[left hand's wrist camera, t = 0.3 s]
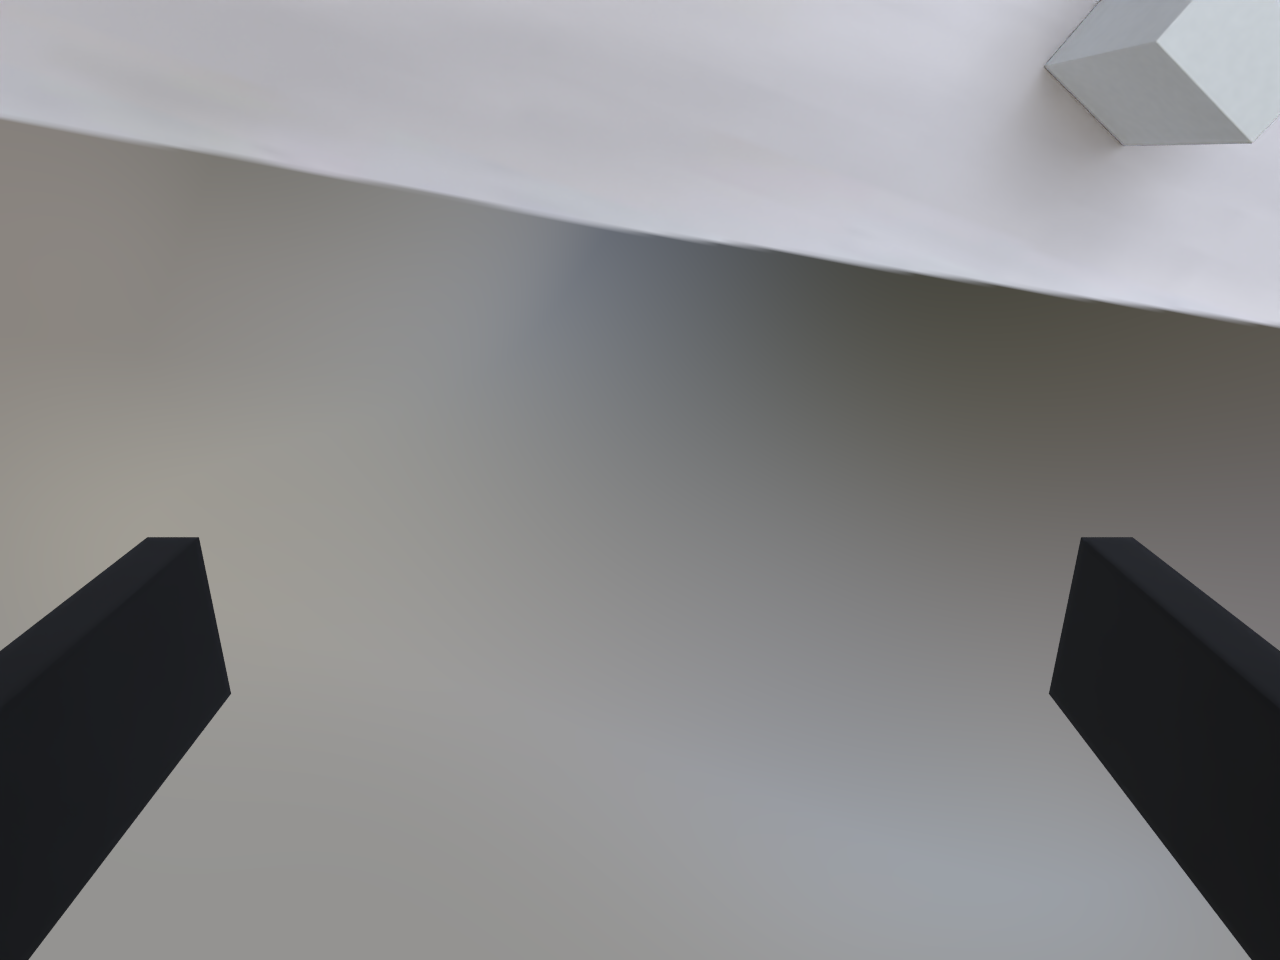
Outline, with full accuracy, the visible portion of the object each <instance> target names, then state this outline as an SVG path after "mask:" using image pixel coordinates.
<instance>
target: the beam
mask: <svg viewBox="0 0 1280 960" xmlns="http://www.w3.org/2000/svg"><path fill="white" fill-rule="evenodd" d="M1045 68H1046V69H1047V70H1048V71H1049V72H1050V73H1051V74H1052V75H1053V76H1054V77H1055V78H1056V79H1057V80H1058V81H1059V82H1060V83H1061V84H1062V85H1063V86H1064V87H1065V88H1066V89H1067V90H1068V91H1069V92H1070V93H1071V94H1072V95H1073V96H1074V97H1075V98H1076V99H1077V100H1078V101H1079V102H1080V103H1081V104H1082V105H1083V106H1084V107H1085V108H1086V109H1087V110H1088V111H1089V112H1090V113H1091V114H1092V115H1093V116H1094V117H1095V118H1096V119H1097V120H1098V121H1099V122H1100V123H1101V124H1102V125H1103V126H1104V127H1105V128H1106V129H1107V130H1108V131H1109V132H1110V133H1111V134H1112V135H1113V136H1114V137H1115V138H1116V139H1117V140H1118V141H1119V142H1120V143H1121V144H1122V145H1123V146H1147V145H1195V144H1242V143H1253V142H1254V141H1255V140H1256V139H1257V138H1258V137H1259V136H1260V135H1261V134H1262V133H1263V132H1264V131H1265V130H1266V129H1267V128H1268V127H1269V126H1270V125H1271V124H1272V123H1273V122H1274V120H1275V119H1276V118H1277V117H1278V116H1279V115H1280V0H1100V2H1099V3H1098V4H1097V5H1096V6H1095V7H1094V9H1093V10H1092V11H1091V12H1090V13H1089V14H1088V16H1087V17H1086V18H1085V19H1084V20H1083V21H1082V23H1081V24H1080V25H1079V26H1078V27H1077V28H1076V30H1075V31H1074V32H1073V33H1072V34H1071V35H1070V37H1069V38H1068V39H1067V40H1066V41H1065V42H1064V44H1063V45H1062V46H1061V47H1060V48H1059V49H1058V51H1057V52H1056V53H1055V54H1054V55H1053V56H1052V58H1051V59H1050V60H1049V61H1048V62H1047V63H1046V65H1045Z"/></svg>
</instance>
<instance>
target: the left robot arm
mask: <svg viewBox="0 0 1280 960" xmlns="http://www.w3.org/2000/svg"><path fill="white" fill-rule="evenodd" d="M230 694H231V691H230V687H229V682H228V677H227V672H226V667H225V662H224V657H223V653H222V648H221V643H220V638H219V633H218V629H217V624H216V618H215V614H214V609H213V604H212V599H211V594H210V589H209V584H208V580H207V575H206V570H205V565H204V560H203V555H202V550H201V546H200V541H199V537H148V538H146V539H145V540H143V541H142V542H141V543H139V544H138V545H137V546H136V547H134V548H133V549H132V550H130V551H129V552H128V553H127V554H125V555H124V556H123V557H121V558H120V559H119V560H118V561H116V562H115V563H114V564H112V565H111V566H110V567H108V568H107V569H106V570H105V571H103V572H102V573H101V574H99V575H98V576H97V577H96V578H94V579H93V580H92V581H90V582H89V583H88V584H86V585H85V586H84V587H83V588H81V589H80V590H79V591H77V592H76V593H75V594H74V595H72V596H71V597H70V598H68V599H67V600H66V601H64V602H63V603H62V604H61V605H59V606H58V607H57V608H55V609H54V610H53V611H52V612H50V613H49V614H48V615H46V616H45V617H44V618H43V619H41V620H40V621H39V622H37V623H36V624H35V625H33V626H32V627H31V628H30V629H28V630H27V631H26V632H24V633H23V634H22V635H21V636H19V637H18V638H17V639H15V640H14V641H13V642H11V643H10V644H9V645H8V646H6V647H5V648H4V649H2V650H1V651H0V960H29V958H30V957H31V956H32V954H33V953H34V952H35V950H36V949H37V948H38V946H39V945H40V944H41V942H42V941H43V940H44V938H45V937H46V936H47V935H48V933H49V932H50V931H51V929H52V928H53V927H54V925H55V924H56V923H57V921H58V920H59V919H60V918H61V916H62V915H63V914H64V912H65V911H66V910H67V908H68V907H69V906H70V904H71V903H72V902H73V900H74V899H75V898H76V896H77V895H78V894H79V893H80V891H81V890H82V889H83V887H84V886H85V885H86V883H87V882H88V881H89V879H90V878H91V877H92V876H93V874H94V873H95V872H96V870H97V869H98V868H99V866H100V865H101V864H102V862H103V861H104V860H105V858H106V857H107V856H108V854H109V853H110V852H111V851H112V849H113V848H114V847H115V845H116V844H117V843H118V841H119V840H120V839H121V837H122V836H123V835H124V833H125V832H126V831H127V829H128V828H129V827H130V826H131V824H132V823H133V822H134V820H135V819H136V818H137V816H138V815H139V814H140V812H141V811H142V810H143V809H144V807H145V806H146V805H147V803H148V802H149V801H150V799H151V798H152V797H153V795H154V794H155V793H156V791H157V790H158V789H159V787H160V786H161V785H162V784H163V782H164V781H165V780H166V778H167V777H168V776H169V774H170V773H171V772H172V770H173V769H174V768H175V767H176V765H177V764H178V763H179V761H180V760H181V759H182V757H183V756H184V755H185V753H186V752H187V751H188V749H189V748H190V747H191V746H192V744H193V743H194V742H195V740H196V739H197V738H198V736H199V735H200V734H201V732H202V731H203V730H204V728H205V727H206V726H207V725H208V723H209V722H210V721H211V719H212V718H213V717H214V715H215V714H216V713H217V711H218V710H219V709H220V707H221V706H222V705H223V703H224V702H225V701H226V700H227V698H228V697H229V696H230ZM1049 694H1050V696H1051V697H1052V698H1053V699H1054V701H1055V702H1056V703H1057V705H1058V706H1059V707H1060V709H1061V710H1062V711H1063V713H1064V714H1065V715H1066V717H1067V718H1068V719H1069V721H1070V722H1071V723H1072V725H1073V726H1074V727H1075V728H1076V730H1077V731H1078V732H1079V734H1080V735H1081V736H1082V738H1083V739H1084V740H1085V742H1086V743H1087V744H1088V746H1089V747H1090V748H1091V749H1092V751H1093V752H1094V753H1095V755H1096V756H1097V757H1098V759H1099V760H1100V761H1101V763H1102V764H1103V765H1104V767H1105V768H1106V769H1107V770H1108V772H1109V773H1110V774H1111V776H1112V777H1113V778H1114V780H1115V781H1116V782H1117V784H1118V785H1119V786H1120V787H1121V789H1122V790H1123V791H1124V793H1125V794H1126V795H1127V797H1128V798H1129V799H1130V801H1131V802H1132V803H1133V805H1134V806H1135V807H1136V808H1137V810H1138V811H1139V812H1140V814H1141V815H1142V816H1143V818H1144V819H1145V820H1146V822H1147V823H1148V824H1149V826H1150V827H1151V828H1152V830H1153V831H1154V832H1155V833H1156V835H1157V836H1158V837H1159V839H1160V840H1161V841H1162V843H1163V844H1164V845H1165V847H1166V848H1167V849H1168V851H1169V852H1170V853H1171V854H1172V856H1173V857H1174V858H1175V860H1176V861H1177V862H1178V864H1179V865H1180V866H1181V868H1182V869H1183V870H1184V872H1185V873H1186V874H1187V876H1188V877H1189V878H1190V879H1191V881H1192V882H1193V883H1194V885H1195V886H1196V887H1197V889H1198V890H1199V891H1200V893H1201V894H1202V895H1203V897H1204V898H1205V899H1206V900H1207V902H1208V903H1209V904H1210V906H1211V907H1212V908H1213V910H1214V911H1215V912H1216V914H1217V915H1218V916H1219V918H1220V919H1221V920H1222V921H1223V923H1224V924H1225V925H1226V927H1227V928H1228V929H1229V931H1230V932H1231V933H1232V935H1233V936H1234V937H1235V938H1236V940H1237V941H1238V942H1239V944H1240V945H1241V946H1242V948H1243V949H1244V950H1245V952H1246V953H1247V954H1248V956H1249V957H1250V958H1251V959H1252V960H1280V651H1279V650H1278V649H1276V648H1275V647H1274V646H1272V645H1271V644H1270V643H1268V642H1267V641H1266V640H1265V639H1263V638H1262V637H1261V636H1260V635H1258V634H1257V633H1256V632H1254V631H1253V630H1252V629H1250V628H1249V627H1248V626H1247V625H1245V624H1244V623H1243V622H1241V621H1240V620H1239V619H1238V618H1236V617H1235V616H1234V615H1232V614H1231V613H1230V612H1228V611H1227V610H1226V609H1225V608H1223V607H1222V606H1221V605H1219V604H1218V603H1217V602H1216V601H1214V600H1213V599H1212V598H1210V597H1209V596H1208V595H1206V594H1205V593H1204V592H1203V591H1201V590H1200V589H1199V588H1197V587H1196V586H1195V585H1194V584H1192V583H1191V582H1190V581H1188V580H1187V579H1186V578H1184V577H1183V576H1182V575H1181V574H1179V573H1178V572H1177V571H1175V570H1174V569H1173V568H1172V567H1170V566H1169V565H1168V564H1166V563H1165V562H1164V561H1162V560H1161V559H1160V558H1159V557H1157V556H1156V555H1155V554H1153V553H1152V552H1151V551H1149V550H1148V549H1147V548H1146V547H1144V546H1143V545H1142V544H1140V543H1139V542H1138V541H1137V540H1135V539H1134V538H1132V537H1082V538H1081V541H1080V545H1079V550H1078V555H1077V560H1076V565H1075V570H1074V575H1073V580H1072V584H1071V589H1070V594H1069V599H1068V604H1067V609H1066V614H1065V619H1064V623H1063V628H1062V633H1061V638H1060V643H1059V648H1058V653H1057V658H1056V662H1055V667H1054V672H1053V677H1052V682H1051V687H1050V691H1049Z"/></svg>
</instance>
